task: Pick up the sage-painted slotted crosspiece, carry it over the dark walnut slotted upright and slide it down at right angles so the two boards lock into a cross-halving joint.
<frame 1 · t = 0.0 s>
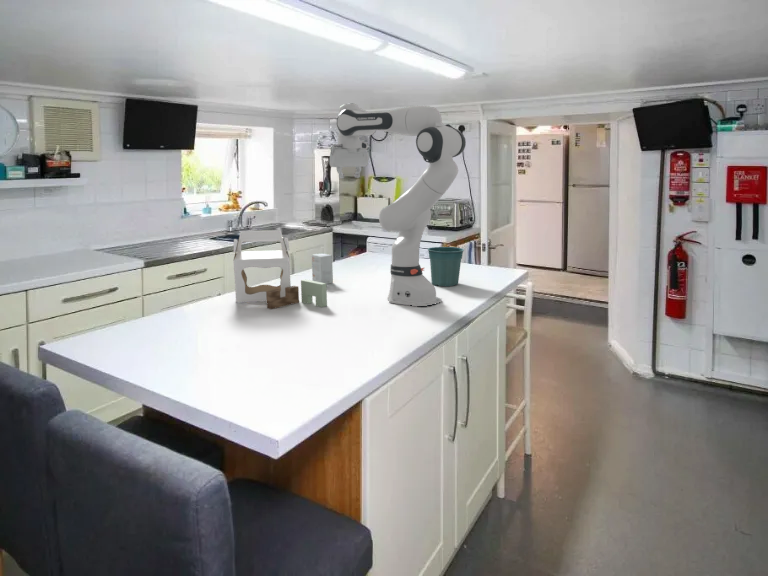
hand: (349, 177, 246), 48 cm above the counter, tool pointing down, fingers open, 8 cm apart
flower pot: (444, 284, 265), on the counter
upright: (283, 305, 228), on the counter
small box: (322, 282, 269), on the counter
crosspiece: (314, 304, 229), on the counter
gable box: (264, 298, 240), on the counter
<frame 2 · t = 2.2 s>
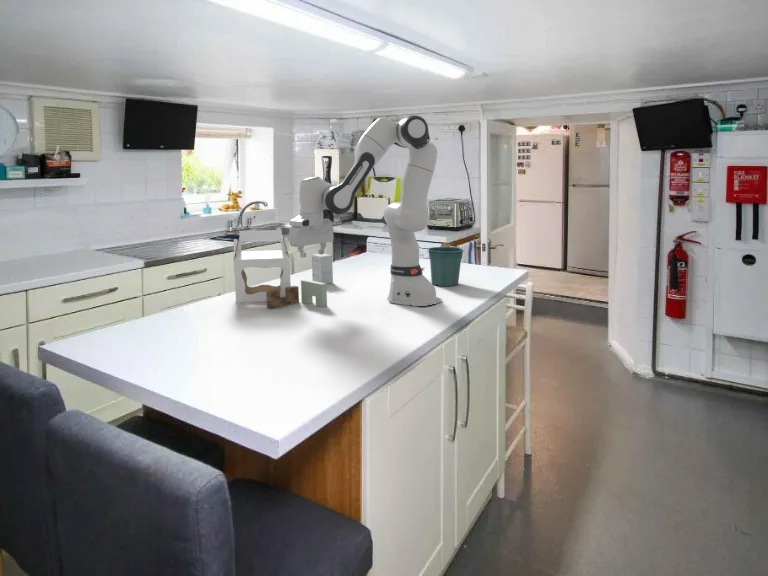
hand: (312, 255, 225), 19 cm above the counter, tool pointing down, fingers open, 8 cm apart
nothing on the counter moved.
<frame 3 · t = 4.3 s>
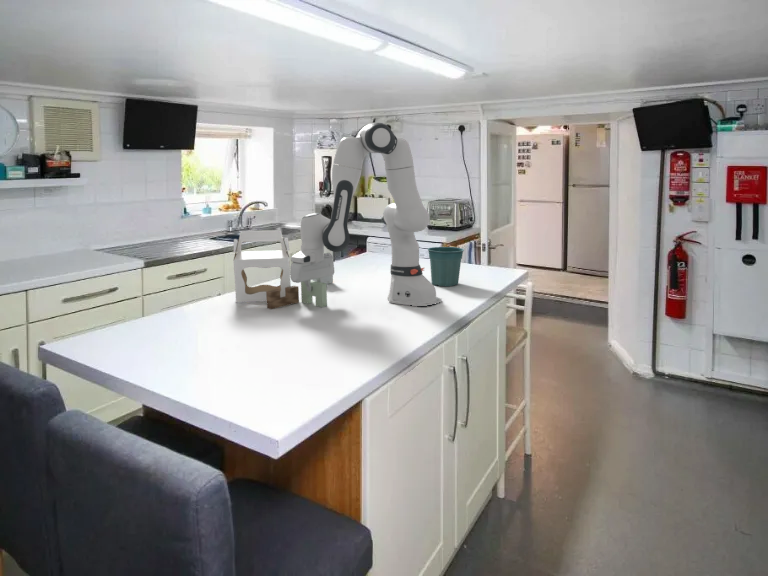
hand: (313, 290, 228), 6 cm above the counter, tool pointing down, fingers closed on crosspiece, 2 cm apart
crosspiece: (314, 304, 229), on the counter, touching gripper
everything else where it was.
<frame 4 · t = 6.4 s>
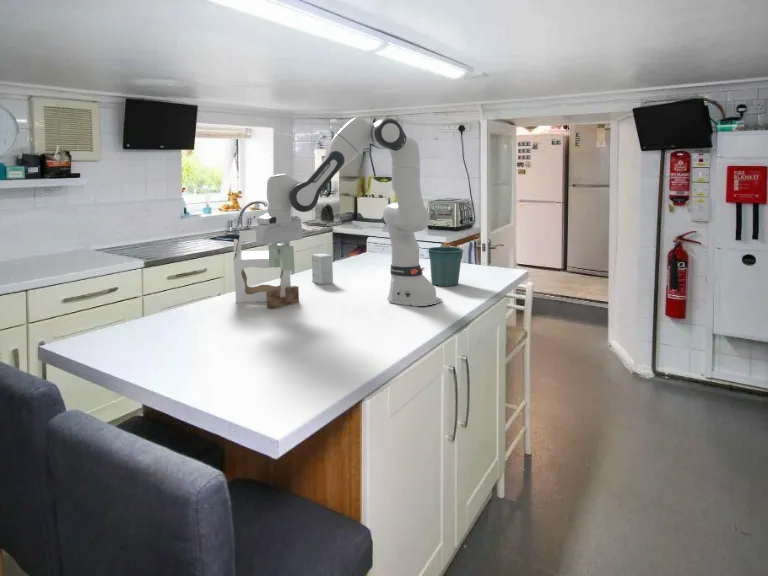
hand: (281, 253, 223), 21 cm above the counter, tool pointing down, fingers closed on crosspiece, 2 cm apart
crosspiece: (281, 268, 224), point 15 cm above the counter, touching gripper
everything else where it was.
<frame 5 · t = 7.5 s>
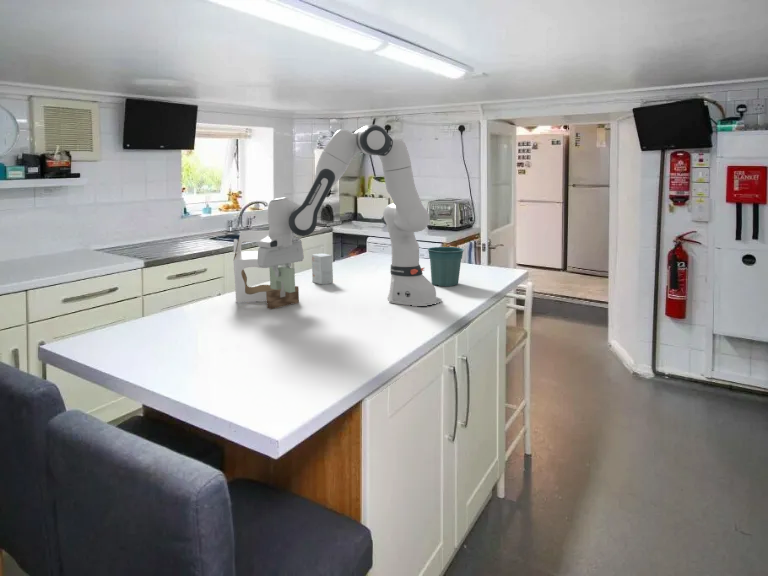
hand: (282, 275, 225), 12 cm above the counter, tool pointing down, fingers closed on crosspiece, 2 cm apart
crosspiece: (282, 289, 226), point 6 cm above the counter, touching gripper
everything else where it was.
when the fingers open (8 cm above the counter, at t = 8.5 s): crosspiece drops 2 cm, on the counter.
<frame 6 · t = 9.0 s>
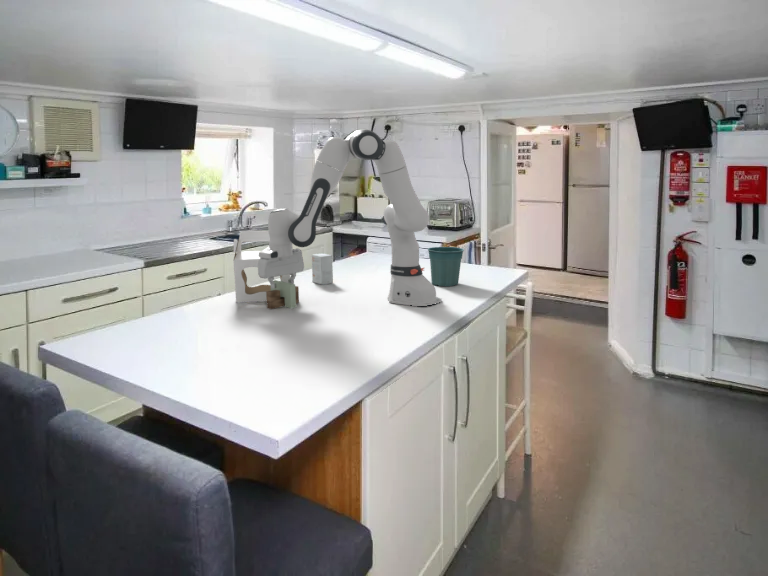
hand: (282, 286, 226), 8 cm above the counter, tool pointing down, fingers open, 7 cm apart
crosspiece: (283, 305, 228), on the counter
everything else where it was.
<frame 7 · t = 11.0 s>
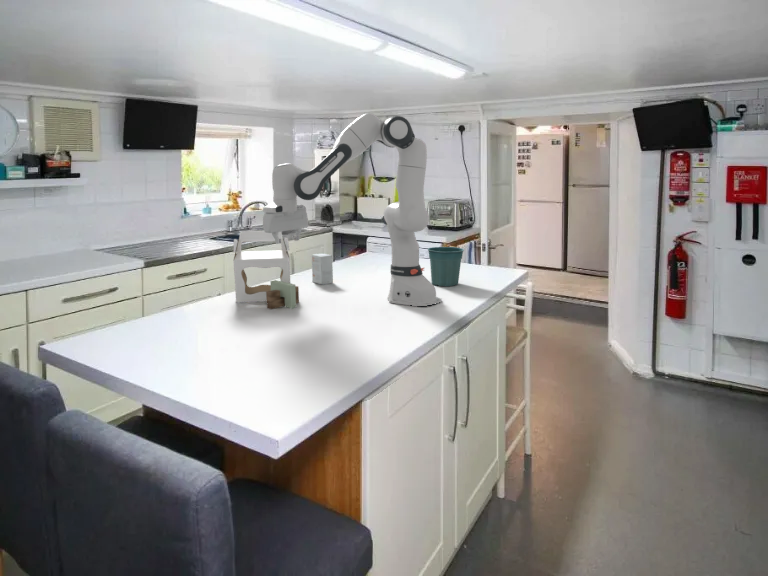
hand: (287, 241, 227), 24 cm above the counter, tool pointing down, fingers open, 8 cm apart
nothing on the counter moved.
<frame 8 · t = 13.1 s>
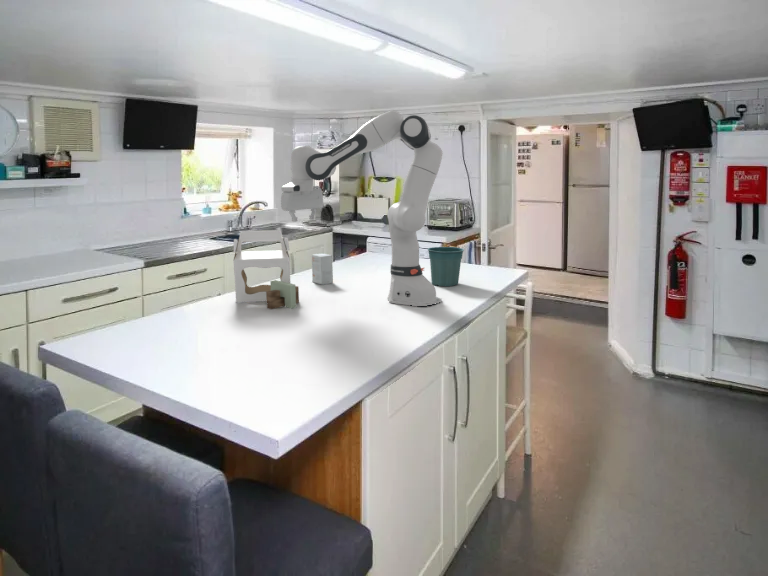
hand: (303, 220, 240), 31 cm above the counter, tool pointing down, fingers open, 8 cm apart
nothing on the counter moved.
at the end: crosspiece 0.1 cm off-centre on the upright, point 0.0 cm above the upright's base; crosspiece tilted 0°; the gripper is holding nothing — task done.
